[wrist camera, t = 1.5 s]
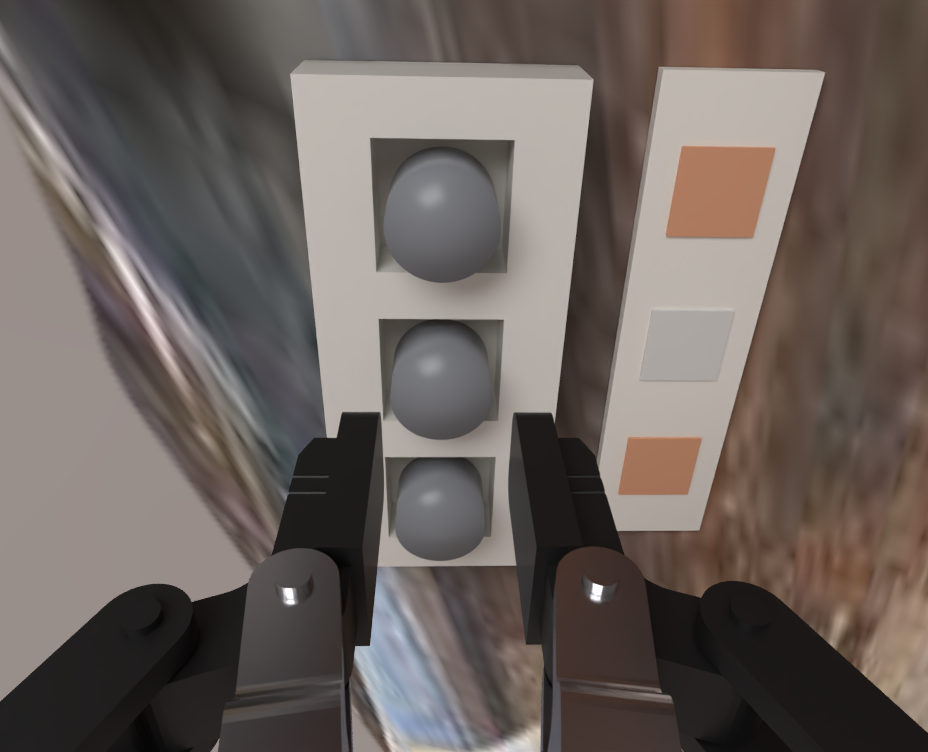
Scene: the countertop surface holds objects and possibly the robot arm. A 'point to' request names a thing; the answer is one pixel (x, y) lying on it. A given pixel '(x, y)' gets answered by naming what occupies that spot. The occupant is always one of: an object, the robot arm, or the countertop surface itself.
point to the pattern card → (697, 281)
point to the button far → (440, 508)
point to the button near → (442, 215)
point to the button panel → (416, 300)
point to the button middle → (441, 380)
